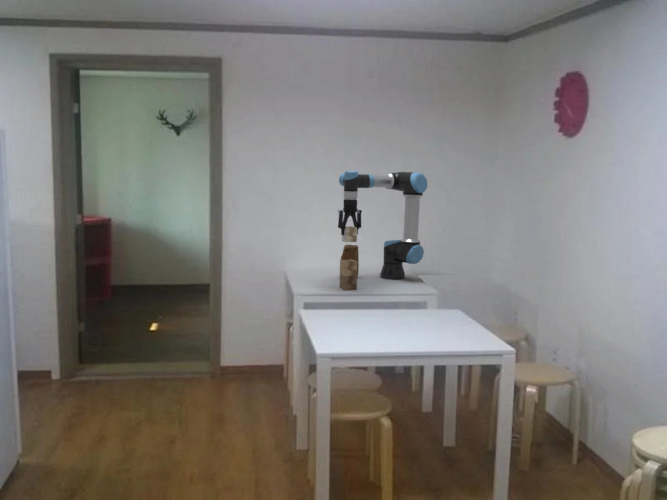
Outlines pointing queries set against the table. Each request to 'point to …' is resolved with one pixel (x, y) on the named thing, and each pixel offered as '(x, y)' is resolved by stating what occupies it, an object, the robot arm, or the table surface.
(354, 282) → the walnut block
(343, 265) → the oak block
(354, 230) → the maple block
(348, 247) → the block
